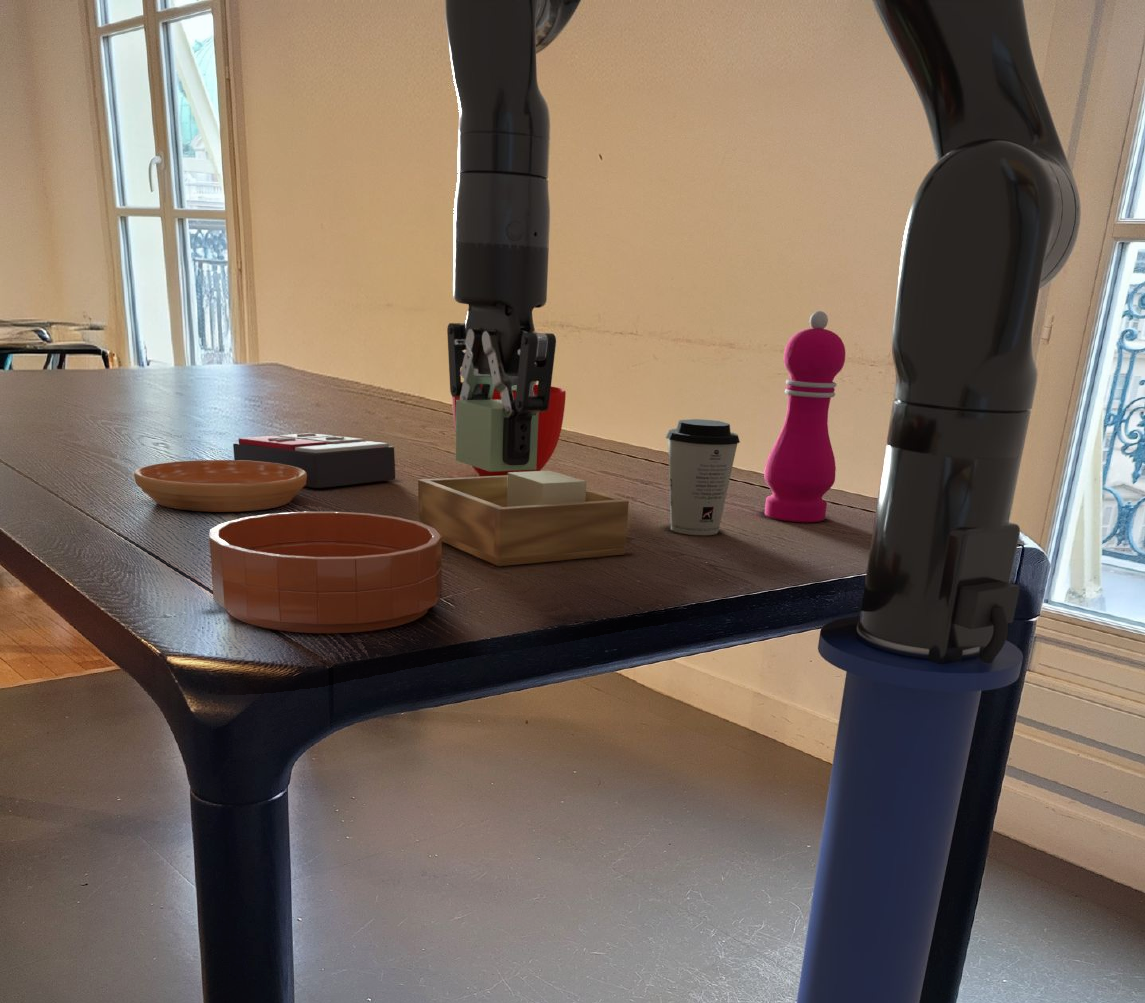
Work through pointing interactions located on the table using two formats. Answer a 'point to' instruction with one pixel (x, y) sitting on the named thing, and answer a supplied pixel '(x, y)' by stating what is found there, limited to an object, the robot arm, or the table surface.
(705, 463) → the coffee cup
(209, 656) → the table surface
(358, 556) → the bowl
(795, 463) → the pepper mill
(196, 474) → the saucer
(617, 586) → the table surface
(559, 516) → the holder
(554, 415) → the ceramic cup
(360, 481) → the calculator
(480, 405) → the packet
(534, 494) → the block
